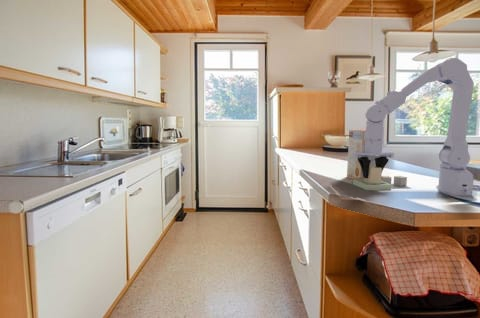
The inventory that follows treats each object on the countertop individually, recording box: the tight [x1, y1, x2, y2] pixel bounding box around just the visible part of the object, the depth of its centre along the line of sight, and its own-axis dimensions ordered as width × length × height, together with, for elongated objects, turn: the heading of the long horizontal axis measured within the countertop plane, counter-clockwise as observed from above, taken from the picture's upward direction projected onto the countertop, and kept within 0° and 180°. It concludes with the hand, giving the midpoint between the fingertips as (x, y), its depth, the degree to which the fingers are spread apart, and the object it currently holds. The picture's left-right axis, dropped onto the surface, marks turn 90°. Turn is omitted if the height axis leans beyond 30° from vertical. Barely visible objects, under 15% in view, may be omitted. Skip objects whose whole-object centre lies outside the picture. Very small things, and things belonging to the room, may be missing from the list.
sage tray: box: [352, 179, 392, 191], centre depth 113 cm, size 10×9×2 cm
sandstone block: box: [364, 165, 383, 185], centre depth 112 cm, size 4×4×6 cm
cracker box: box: [346, 128, 377, 181], centre depth 124 cm, size 14×6×21 cm, turn 1°
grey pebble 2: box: [393, 175, 408, 186], centre depth 116 cm, size 3×3×3 cm
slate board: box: [391, 183, 411, 190], centre depth 114 cm, size 8×8×1 cm
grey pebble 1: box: [381, 175, 392, 184], centre depth 116 cm, size 3×3×3 cm
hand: (371, 177), depth 112 cm, fingers closed on sandstone block, 4 cm apart
